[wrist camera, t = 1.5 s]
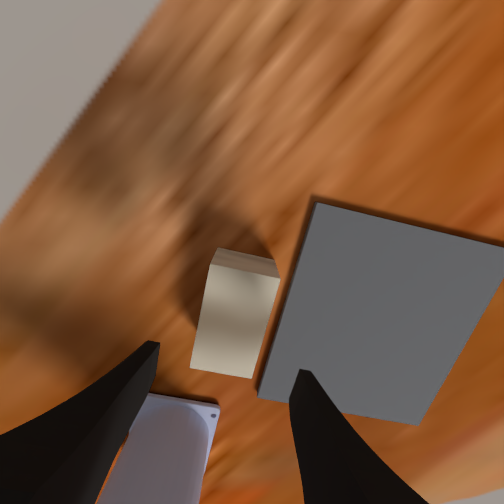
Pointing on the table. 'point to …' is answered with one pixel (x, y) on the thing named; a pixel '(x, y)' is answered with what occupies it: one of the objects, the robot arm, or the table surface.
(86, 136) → the table surface
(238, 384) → the table surface
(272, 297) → the birch card box
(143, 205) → the table surface
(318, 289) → the charcoal rubber mat
